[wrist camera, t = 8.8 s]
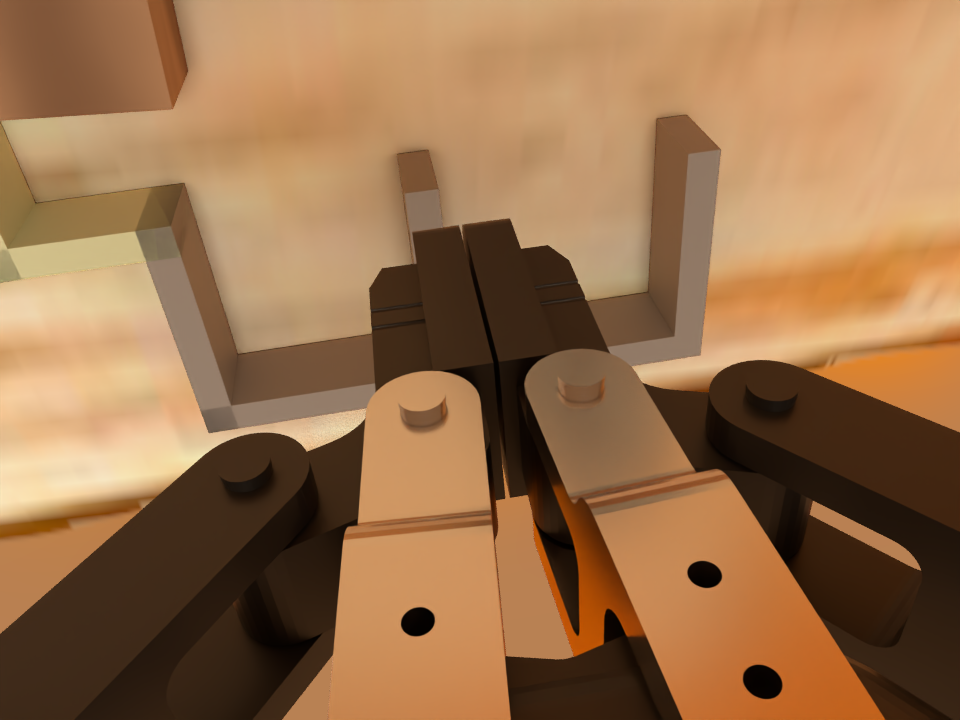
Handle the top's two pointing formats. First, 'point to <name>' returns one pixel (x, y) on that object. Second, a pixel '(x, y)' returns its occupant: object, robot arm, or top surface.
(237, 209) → the top surface
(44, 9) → the walnut block
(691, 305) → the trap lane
